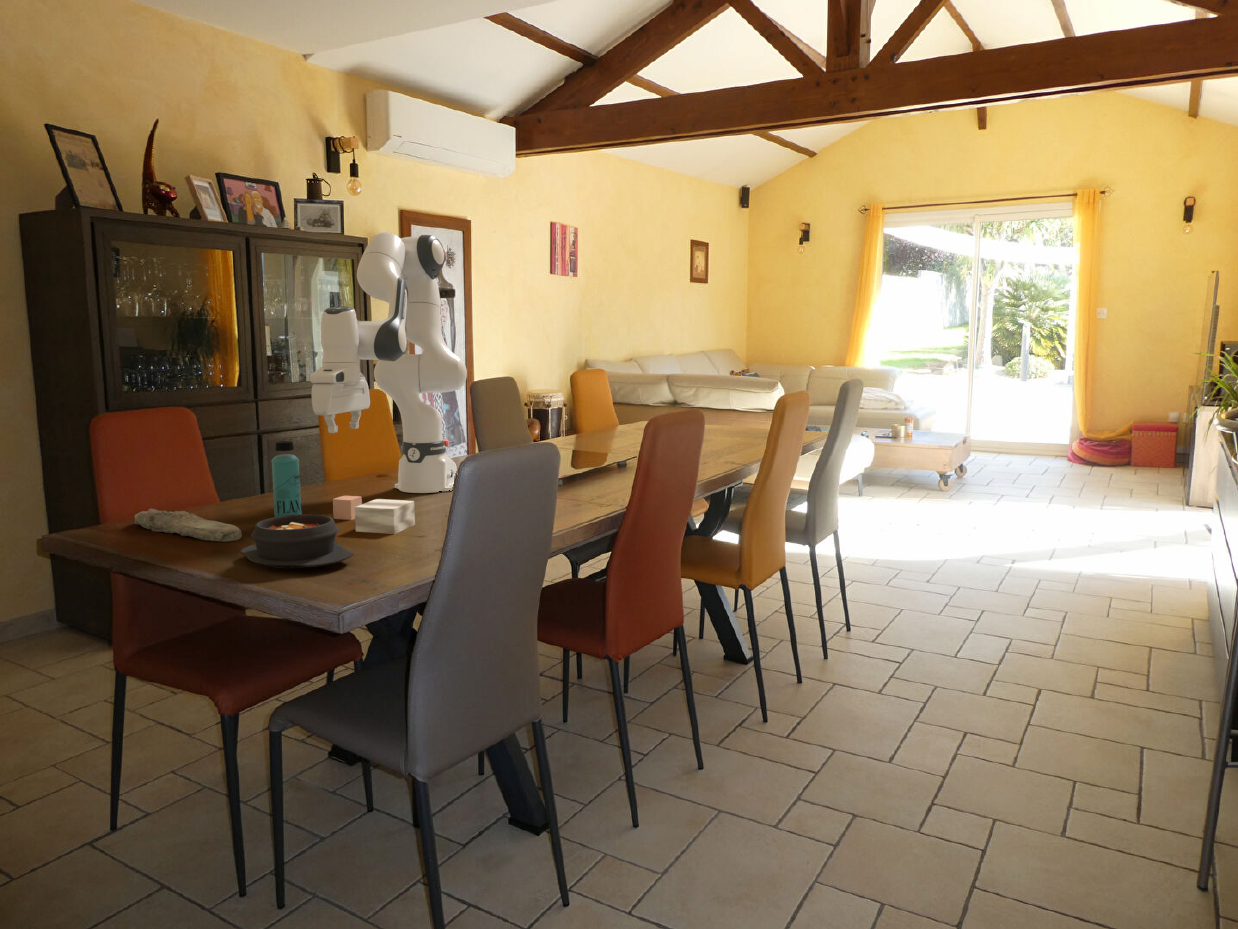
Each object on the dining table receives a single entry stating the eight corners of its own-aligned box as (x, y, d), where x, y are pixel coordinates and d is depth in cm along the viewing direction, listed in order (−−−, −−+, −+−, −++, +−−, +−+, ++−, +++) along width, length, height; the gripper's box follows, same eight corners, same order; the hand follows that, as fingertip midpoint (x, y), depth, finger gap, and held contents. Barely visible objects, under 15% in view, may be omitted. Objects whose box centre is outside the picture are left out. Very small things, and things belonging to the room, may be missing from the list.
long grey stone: (215, 552, 196) (254, 545, 205) (215, 529, 196) (254, 523, 204) (120, 525, 214) (160, 519, 222) (120, 503, 213) (160, 498, 221)
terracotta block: (344, 514, 228) (343, 495, 227) (362, 516, 227) (361, 496, 226) (333, 519, 223) (332, 499, 222) (351, 520, 222) (350, 500, 221)
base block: (377, 523, 219) (376, 498, 218) (415, 525, 217) (414, 501, 216) (355, 532, 210) (354, 507, 209) (394, 534, 207) (393, 509, 206)
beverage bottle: (273, 527, 214) (268, 443, 211) (275, 521, 220) (270, 439, 217) (302, 525, 216) (297, 442, 212) (303, 519, 222) (299, 439, 219)
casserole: (375, 560, 185) (373, 520, 184) (301, 582, 169) (299, 538, 168) (293, 544, 198) (291, 506, 196) (217, 563, 182) (215, 522, 181)
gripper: (353, 371, 230) (355, 425, 232) (305, 375, 210) (308, 434, 212) (375, 372, 228) (377, 426, 230) (329, 376, 209) (332, 435, 211)
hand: (343, 430), depth 221 cm, fingers open, 8 cm apart
